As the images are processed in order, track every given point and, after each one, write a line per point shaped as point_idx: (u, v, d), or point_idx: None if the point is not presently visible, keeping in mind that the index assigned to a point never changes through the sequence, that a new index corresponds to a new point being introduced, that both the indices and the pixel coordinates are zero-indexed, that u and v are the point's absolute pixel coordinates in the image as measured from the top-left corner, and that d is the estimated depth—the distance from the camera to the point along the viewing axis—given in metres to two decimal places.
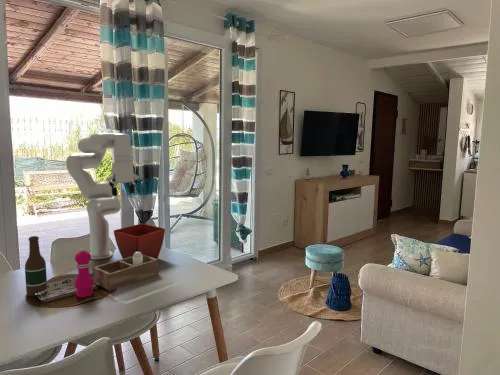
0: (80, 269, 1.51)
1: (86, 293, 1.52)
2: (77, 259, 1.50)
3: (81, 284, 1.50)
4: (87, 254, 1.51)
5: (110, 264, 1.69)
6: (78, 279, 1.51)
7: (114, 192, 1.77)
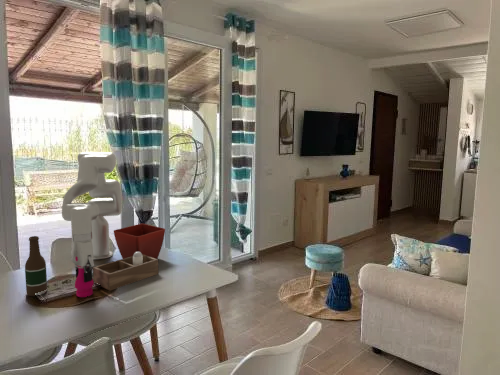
0: (80, 269, 1.51)
1: (86, 293, 1.52)
2: (77, 259, 1.49)
3: (81, 284, 1.50)
4: None
5: (110, 264, 1.69)
6: (78, 279, 1.51)
7: (90, 277, 1.52)
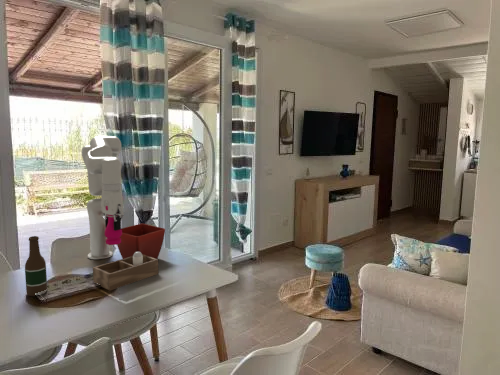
0: (110, 218, 1.59)
1: (115, 241, 1.60)
2: None
3: (111, 232, 1.59)
4: None
5: (110, 264, 1.69)
6: (108, 227, 1.59)
7: (119, 226, 1.60)
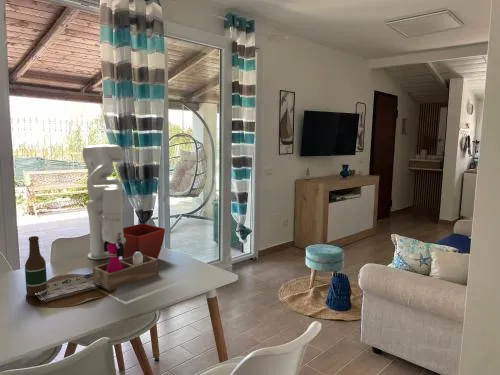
0: (111, 258, 1.62)
1: None
2: (109, 248, 1.61)
3: (112, 272, 1.61)
4: None
5: None
6: (109, 267, 1.62)
7: (122, 252, 1.61)
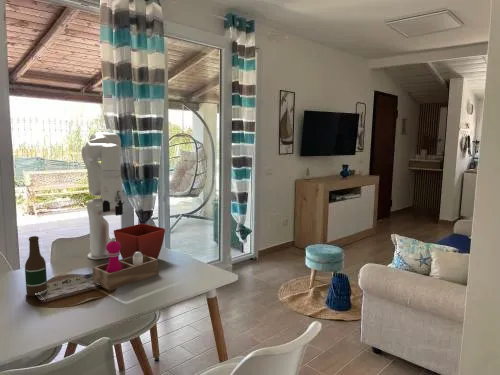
0: (111, 258, 1.62)
1: None
2: (108, 248, 1.61)
3: (112, 272, 1.62)
4: (117, 244, 1.62)
5: None
6: (109, 267, 1.62)
7: (121, 211, 1.58)
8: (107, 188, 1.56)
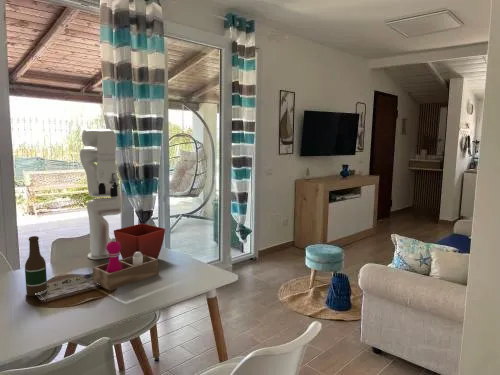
0: (111, 258, 1.62)
1: None
2: (109, 248, 1.60)
3: (112, 272, 1.61)
4: (118, 244, 1.62)
5: None
6: (109, 267, 1.62)
7: None
8: (102, 171, 1.65)
